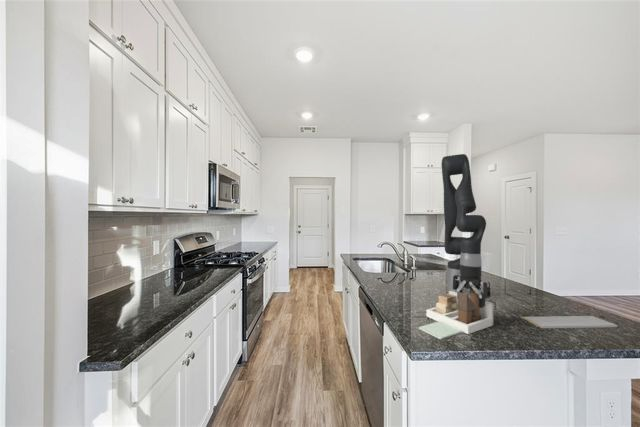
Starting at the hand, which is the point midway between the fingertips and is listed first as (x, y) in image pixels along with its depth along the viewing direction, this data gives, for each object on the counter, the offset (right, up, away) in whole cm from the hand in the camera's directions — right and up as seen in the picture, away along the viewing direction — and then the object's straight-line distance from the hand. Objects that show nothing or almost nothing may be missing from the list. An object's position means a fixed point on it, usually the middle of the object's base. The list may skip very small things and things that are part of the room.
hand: (470, 304), depth 105 cm
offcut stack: (-5, -9, +10) cm, 14 cm away
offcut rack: (-2, -9, +5) cm, 10 cm away
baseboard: (+42, -10, +4) cm, 44 cm away
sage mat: (-14, -9, -4) cm, 17 cm away
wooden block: (0, -9, 0) cm, 9 cm away
